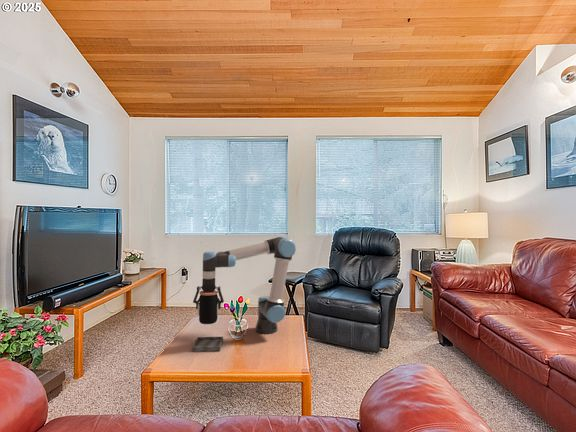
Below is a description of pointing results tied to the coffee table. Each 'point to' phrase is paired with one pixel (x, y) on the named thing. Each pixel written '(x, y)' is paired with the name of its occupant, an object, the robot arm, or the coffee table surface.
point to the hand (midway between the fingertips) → (208, 314)
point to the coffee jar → (208, 307)
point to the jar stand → (207, 344)
